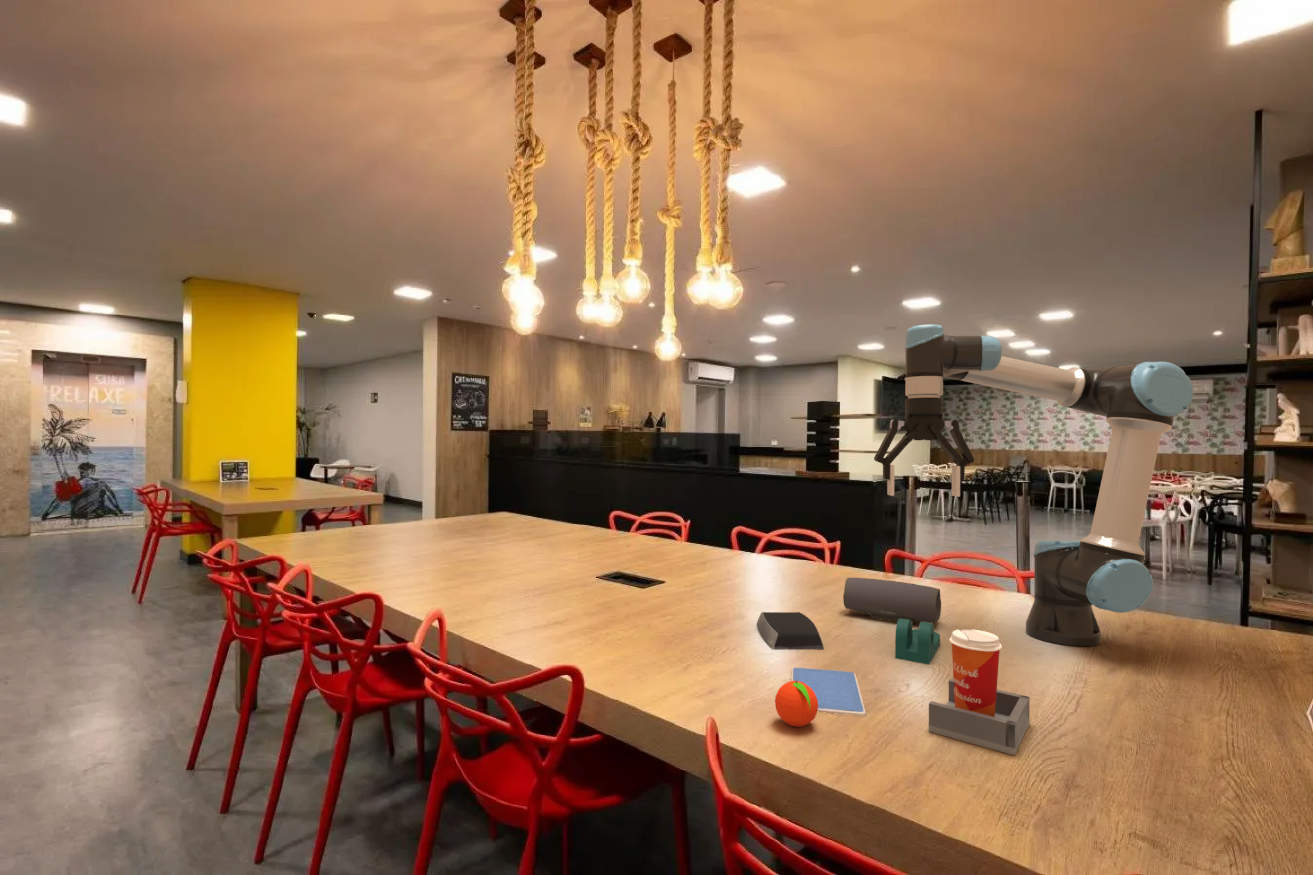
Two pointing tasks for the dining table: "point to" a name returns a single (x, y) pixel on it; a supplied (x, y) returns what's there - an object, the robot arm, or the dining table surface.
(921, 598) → the bluetooth speaker
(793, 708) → the clementine
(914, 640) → the bracket
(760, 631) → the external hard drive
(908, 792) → the dining table surface
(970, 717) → the cup holder
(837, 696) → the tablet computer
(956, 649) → the paper cup
